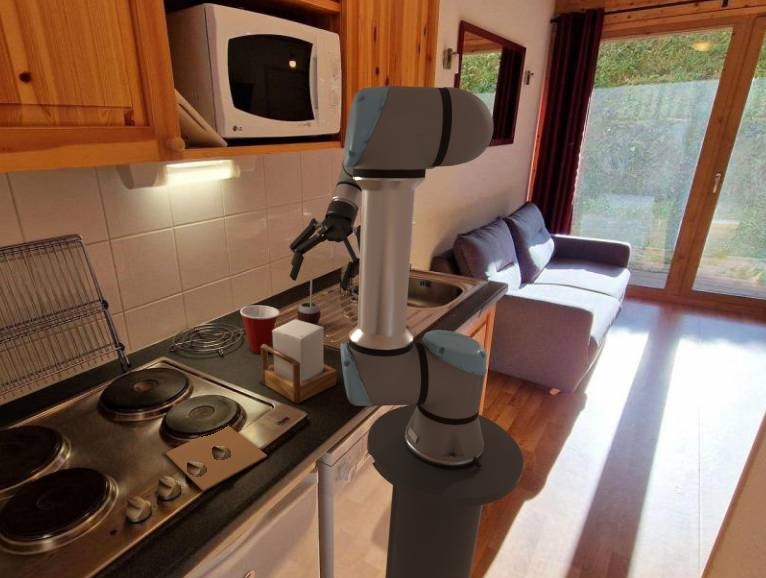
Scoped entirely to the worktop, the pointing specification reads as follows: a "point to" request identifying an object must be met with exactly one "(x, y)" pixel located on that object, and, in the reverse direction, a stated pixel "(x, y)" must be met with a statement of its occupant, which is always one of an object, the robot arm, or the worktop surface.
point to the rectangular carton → (299, 349)
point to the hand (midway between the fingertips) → (317, 283)
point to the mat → (216, 469)
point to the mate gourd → (309, 311)
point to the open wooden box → (294, 378)
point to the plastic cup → (259, 325)
